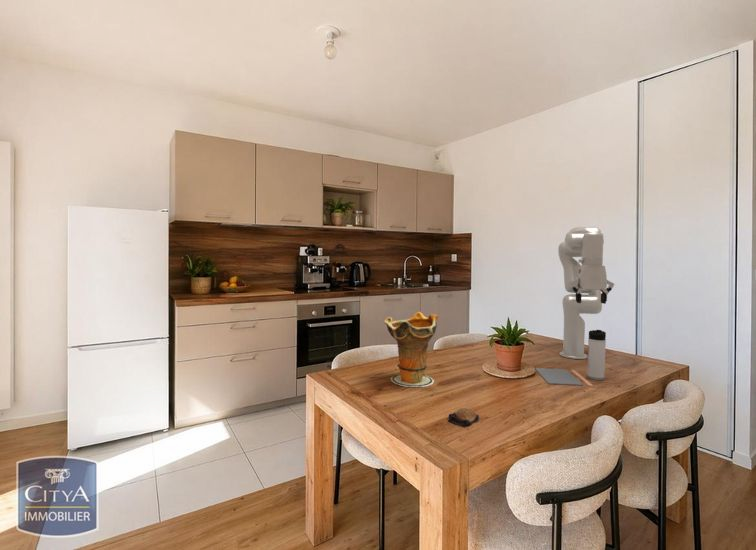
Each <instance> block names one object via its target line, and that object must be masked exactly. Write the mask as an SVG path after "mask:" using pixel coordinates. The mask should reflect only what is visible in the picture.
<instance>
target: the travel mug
mask: <svg viewBox="0 0 756 550" xmlns="http://www.w3.org/2000/svg"><path fill="white" fill-rule="evenodd" d="M606 334H607V333H606V331H604V330H601V329H596V330H595V329H594V330H593V329H592V330H589V331H588V345H587V346H588V347H587V372H586V373H587V375H586V377H587V378H588V379H589V380H593V381H604V380H605V374H606V373H605V372H606V370H605V369H606V367H605V366H606V346H607V345H606V341H607V339H606V338H607V336H606Z"/></svg>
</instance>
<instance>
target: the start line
mask: <svg viewBox="0 0 756 550" xmlns="http://www.w3.org/2000/svg"><path fill="white" fill-rule="evenodd" d="M570 371H571V372H572V373H573V374H574V375H575V376H577V377H578V378H579V379H580V380H581V381H582V382H584V383H585V384H586V385H587V386H588V387H594V385H593V384H592V383H591V382H590V381H588V380H587V379H586V378H585V377H584V376H582V375H581V373H579V372H578V371H576V369H571V370H570Z"/></svg>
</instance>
